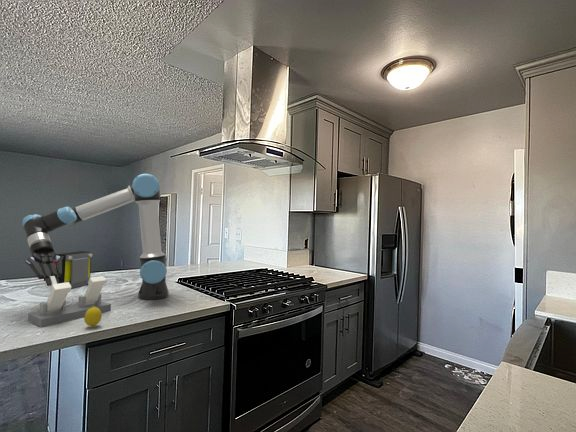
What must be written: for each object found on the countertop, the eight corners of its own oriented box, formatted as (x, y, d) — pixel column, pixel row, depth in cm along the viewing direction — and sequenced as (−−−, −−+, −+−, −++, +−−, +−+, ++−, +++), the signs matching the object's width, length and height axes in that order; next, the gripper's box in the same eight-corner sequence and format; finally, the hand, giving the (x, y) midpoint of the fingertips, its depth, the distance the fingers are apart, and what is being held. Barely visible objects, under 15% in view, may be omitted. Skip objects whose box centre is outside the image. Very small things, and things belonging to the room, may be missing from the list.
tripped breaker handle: (42, 308, 120) (52, 284, 117) (58, 305, 125) (68, 282, 121) (45, 314, 119) (55, 289, 115) (61, 310, 124) (71, 287, 120)
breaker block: (27, 320, 119) (28, 302, 120) (96, 306, 142) (97, 290, 142) (40, 327, 113) (41, 307, 114) (110, 310, 136) (111, 294, 136)
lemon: (89, 324, 118) (90, 304, 118) (103, 324, 118) (104, 304, 119) (80, 329, 113) (81, 308, 113) (96, 329, 113) (97, 308, 113)
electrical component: (66, 290, 168) (68, 255, 169) (52, 289, 170) (53, 254, 171) (92, 284, 186) (94, 252, 186) (79, 282, 188) (80, 251, 188)
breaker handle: (80, 301, 132) (89, 277, 129) (94, 298, 137) (103, 275, 134) (83, 306, 131) (92, 282, 128) (97, 303, 136) (106, 280, 133)
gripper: (55, 250, 136) (70, 293, 127) (18, 251, 124) (32, 299, 116) (61, 239, 133) (77, 283, 124) (24, 240, 122) (39, 288, 113)
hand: (55, 291), depth 120 cm, fingers closed
